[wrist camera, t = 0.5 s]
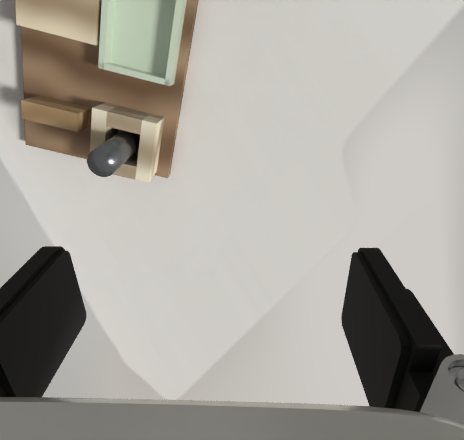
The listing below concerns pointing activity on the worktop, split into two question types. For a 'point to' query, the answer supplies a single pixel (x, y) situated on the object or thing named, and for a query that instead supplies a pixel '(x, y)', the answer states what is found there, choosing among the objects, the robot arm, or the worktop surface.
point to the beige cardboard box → (62, 18)
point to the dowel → (113, 153)
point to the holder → (134, 121)
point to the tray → (141, 38)
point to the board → (92, 92)
